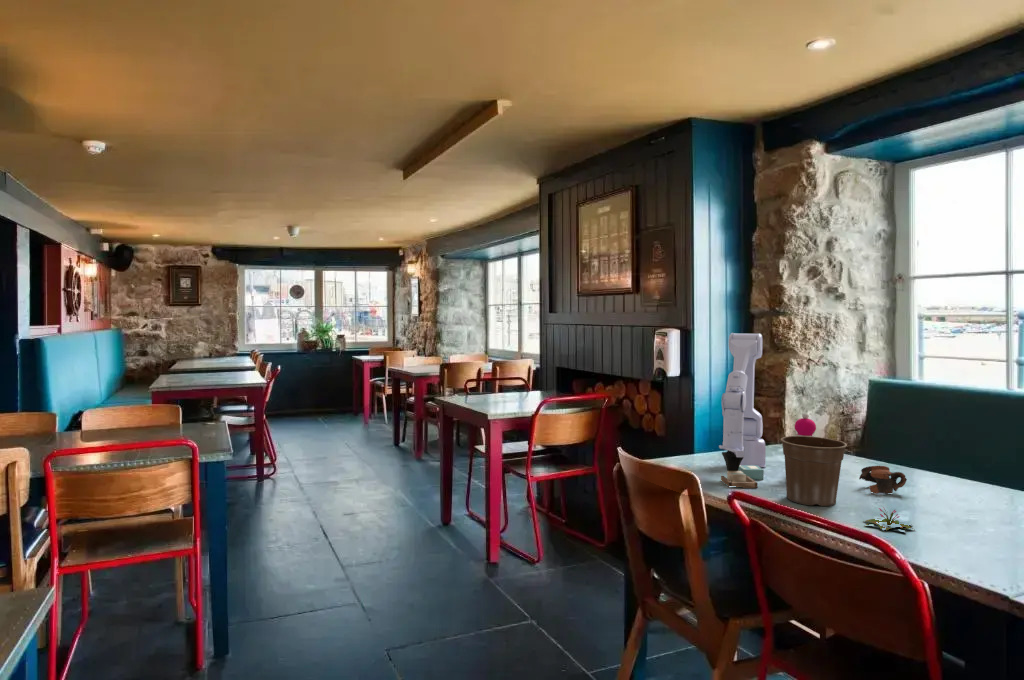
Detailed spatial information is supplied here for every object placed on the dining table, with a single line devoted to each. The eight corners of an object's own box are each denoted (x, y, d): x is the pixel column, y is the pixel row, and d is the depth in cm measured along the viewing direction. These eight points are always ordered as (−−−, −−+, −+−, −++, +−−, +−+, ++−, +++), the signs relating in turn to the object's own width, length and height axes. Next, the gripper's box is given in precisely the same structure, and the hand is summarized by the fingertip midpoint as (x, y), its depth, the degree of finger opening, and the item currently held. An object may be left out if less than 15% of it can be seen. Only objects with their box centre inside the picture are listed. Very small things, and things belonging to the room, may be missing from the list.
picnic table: (748, 481, 206) (748, 476, 206) (757, 488, 198) (757, 483, 198) (720, 480, 207) (721, 475, 207) (729, 487, 198) (729, 482, 198)
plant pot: (854, 501, 185) (856, 441, 185) (831, 513, 174) (832, 449, 173) (794, 489, 197) (796, 433, 196) (769, 500, 186) (770, 440, 185)
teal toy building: (756, 475, 214) (756, 465, 214) (763, 479, 208) (763, 469, 208) (737, 474, 214) (737, 464, 214) (743, 479, 208) (743, 469, 208)
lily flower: (912, 540, 155) (912, 519, 155) (854, 529, 163) (854, 509, 162) (922, 527, 164) (922, 508, 164) (867, 517, 172) (867, 499, 172)
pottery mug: (859, 494, 194) (854, 466, 198) (867, 503, 201) (862, 475, 205) (906, 489, 188) (901, 460, 191) (913, 498, 194) (907, 470, 198)
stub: (740, 480, 207) (740, 470, 207) (745, 485, 202) (746, 474, 202) (727, 480, 207) (727, 470, 207) (732, 484, 202) (732, 474, 202)
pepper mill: (791, 480, 208) (792, 414, 207) (791, 474, 215) (792, 411, 214) (817, 482, 205) (819, 415, 205) (816, 477, 212) (818, 412, 211)
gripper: (713, 427, 215) (712, 470, 215) (726, 435, 200) (726, 482, 201) (736, 427, 215) (735, 471, 215) (751, 435, 200) (750, 482, 201)
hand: (732, 476), depth 208 cm, fingers closed
